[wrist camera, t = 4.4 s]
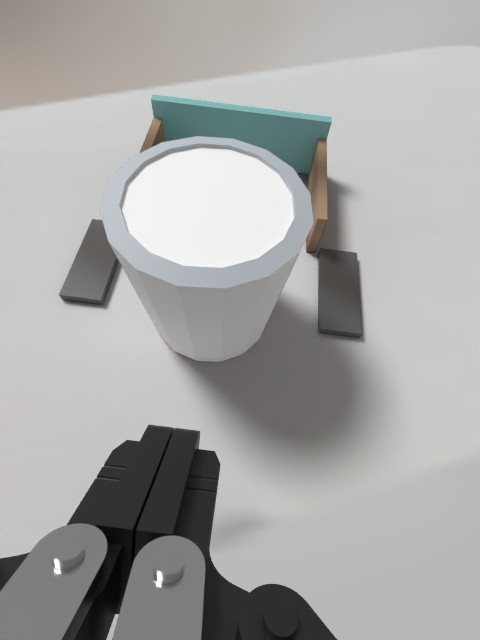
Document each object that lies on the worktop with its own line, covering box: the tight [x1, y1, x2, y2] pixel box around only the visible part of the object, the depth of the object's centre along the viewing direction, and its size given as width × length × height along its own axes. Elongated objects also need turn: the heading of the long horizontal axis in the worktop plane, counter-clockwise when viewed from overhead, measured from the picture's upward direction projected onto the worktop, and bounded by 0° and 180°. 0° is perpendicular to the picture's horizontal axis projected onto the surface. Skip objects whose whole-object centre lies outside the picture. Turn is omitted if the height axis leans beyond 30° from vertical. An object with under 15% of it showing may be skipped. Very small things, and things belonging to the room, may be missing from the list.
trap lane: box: [59, 117, 362, 337], centre depth 19 cm, size 12×15×2 cm
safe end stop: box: [151, 95, 331, 174], centre depth 21 cm, size 1×10×4 cm, turn 83°
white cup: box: [100, 136, 314, 362], centre depth 14 cm, size 7×7×7 cm
